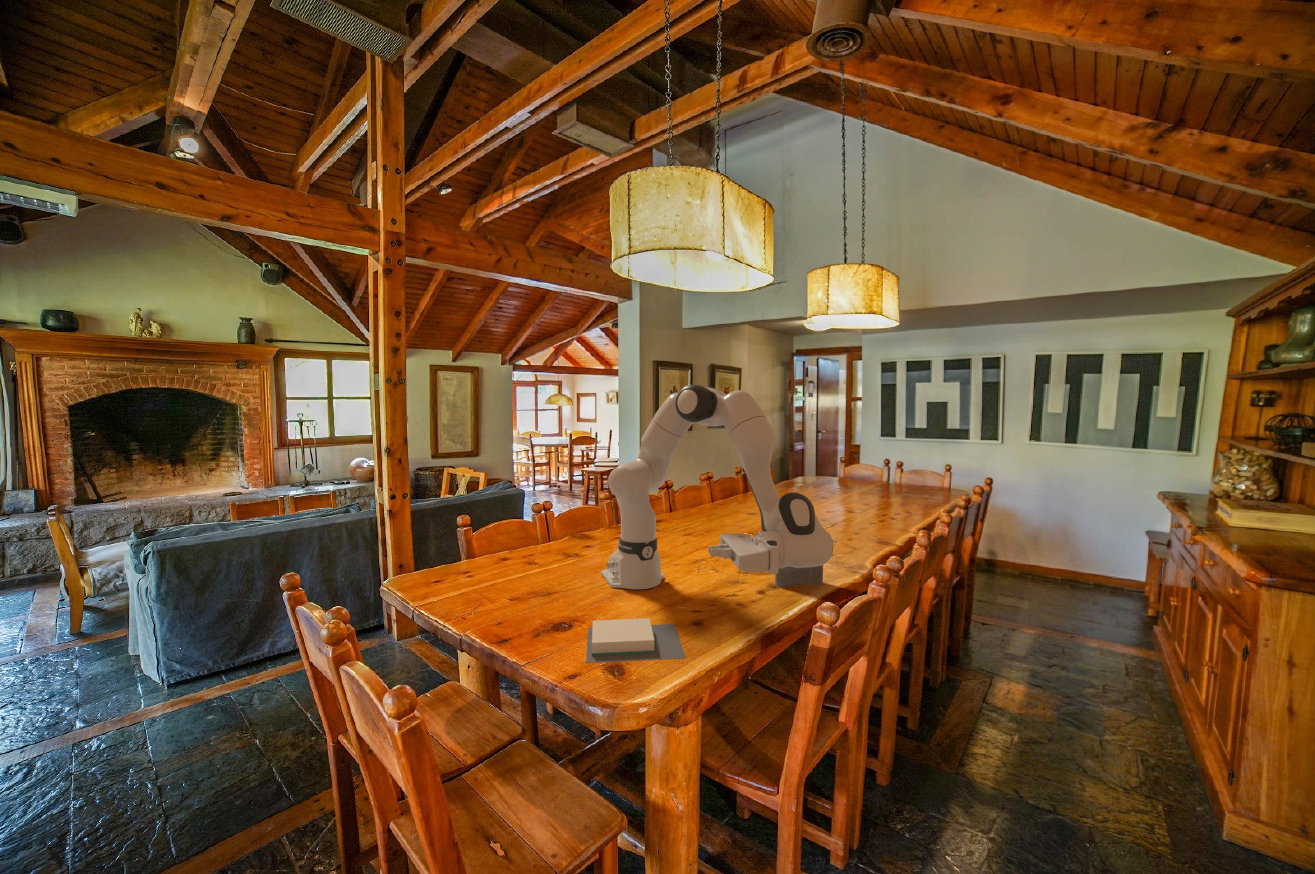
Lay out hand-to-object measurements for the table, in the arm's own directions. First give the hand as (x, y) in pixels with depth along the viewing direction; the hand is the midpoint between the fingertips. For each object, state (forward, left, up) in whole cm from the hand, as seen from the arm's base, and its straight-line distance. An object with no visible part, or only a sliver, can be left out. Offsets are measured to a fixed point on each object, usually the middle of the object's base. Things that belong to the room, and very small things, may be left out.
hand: (709, 551), depth 123 cm
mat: (-8, -16, -22) cm, 28 cm away
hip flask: (-17, +48, -22) cm, 55 cm away
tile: (-6, -12, -20) cm, 24 cm away
